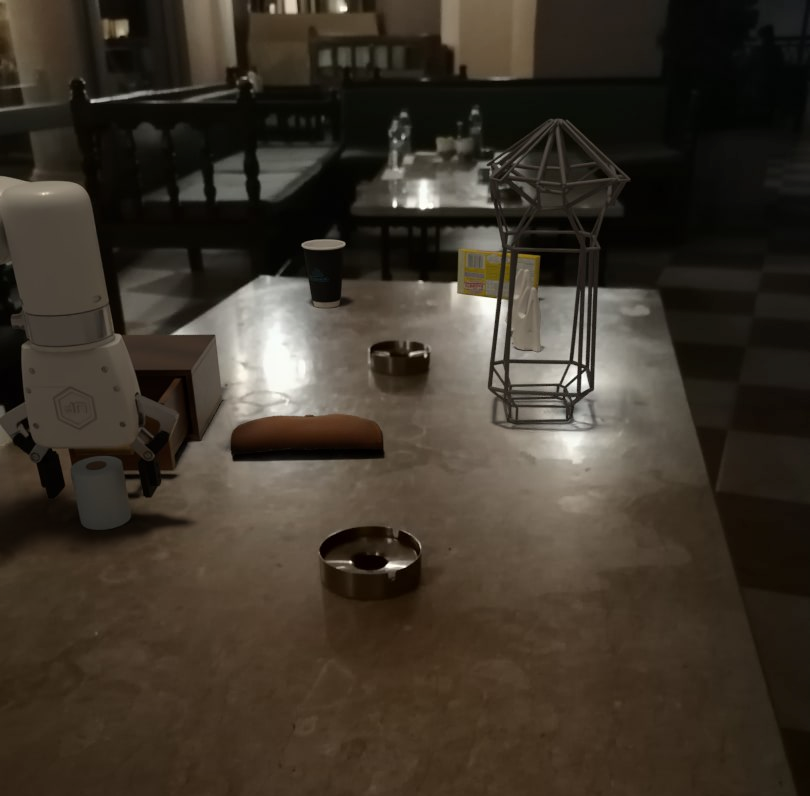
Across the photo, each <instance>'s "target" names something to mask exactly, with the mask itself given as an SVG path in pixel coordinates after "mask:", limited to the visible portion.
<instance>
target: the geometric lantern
mask: <svg viewBox="0 0 810 796" xmlns="http://www.w3.org/2000/svg"><path fill="white" fill-rule="evenodd" d="M563 131H564V132H565V133H566V134H568V135H569V137H570V138H571V139H572V140H573V141H574V142H575V143H577V145H578V146H579V147H580V148H581V149H582V150H583V151H584V152H585V153H586V154H587V156H588V157H590V159H591V160H592V161H591V162H585V163H577V164H571V165H570V162H569V158H568V152H567V148H566V143H565V139H564V134H563ZM547 134H548V137H547V140H546V144H545V147H544V150H543V154H542V158H541V162H540V164H539V166H538V165H530V164H524V163H521V162H522V161H524V159H525V158H526V157H527V156H528V155H529V154H530V152H531V151H533V149H535V147H537V145H538V144H539V143H540V142H541V141H542V140H543V139H544V138H545V137H546V136H547ZM554 142H556V143H555V144H556V149H557V157H558V165H559V166H549V160H550V156H551V152H552V149H553V145H554ZM500 158H501V159H500ZM499 159H500V160H499ZM496 161H497V162H496ZM486 166H487V167H490V171H491V174H490V176H489V178H488V180H489V190H490V191H489V192H490V201H491V202H492V203H493V207H494V213H495V217H496V223H497V227H498V233H499V238H500V242H501V243H500V244H501V248H502V249H501V250H502V251H501V252H502V259H501V268H500V277H499V286H498V296H497V298H496V306H495V315H494V323H493V333H492V343H491V351H490V358H489V359H490V360H489V367H488V379H487V380H488V381H487V390H489V392H490V393H492V394H493V395H494V396H496V397H497V398H498V399H499V400H500V401H501V402H502V406H503V410H504V414H505V420H506V422H507V423H512V424H513V423H514V424H530V423H531V424H532V423H535V424H536V423H537V424H538V423H568V422H569V421H571V420H572V419H573V418H574V412H575V411H574V410H575V405H577V404H578V403H579V402H580V401H581V400H583V399H584V398H585V397H587V396H588V395H590V393H592V392H594V390H595V376H596V374H595V373H596V343H597V319H598V292H599V268H600V267H599V264H600V263H599V262H600V251H601V249H602V248H601V246H600V243H599V241H598V236H599V232H600V229H601V226H602V223H603V221H604V216H605V214H606V211H607V209H608V207H615V206H616V202H617V198H618V197H619V195H620V194H621V192H622V190H623V189H624V187H625V186H626V184H627V183H629V182H631V178H630V177H629V176H628V175H627V174H626V173H625V172H624V171H623V170H622V169H620V168H619V166H617V165H616V164H615V162H613V161H612V160H611V159H610V158H609V157H608V156H607V155H606V154H604V152H602V151H601V150H600V148H598V147H597V146H596V145H595V144H594V143H593V142H592V141H591V140H589V138H588V137H587V136H586V135H585V134H583V133H582V132H581V131H580V130H579V129H578V128H577V127H576V126H575V125H574V124H573V123H572V122H570V121H569V119H563V118H554V119H553V118H549V119H548V120H546V121H545V122H543V123H542V124H540V125H539V126H538V127H536V128H535V129H533V130H532V131H531V132H530V133H528V134H527V135H525V136H524V137H523V138H521V139H520V140H518V141H517V142H516V143H514V144H513V145H511V146H510V147H509V148H507V149H505V150H504V151H502V152H501V153H500V154H498V155H497V156H496V157H494V158H493V159H492V160H490V161H489V162H487V164H486ZM499 166H500V167H499ZM586 168H587V169H589V168H591V169H589V171H587V172H586V173H585V174H584V175H582V176H581V177H580V178H578V179H577V180H576V181H572V182H571V181H570V182H569V177H570V173H571V171H572V170H574V171H575V170H580V169H586ZM517 169H521V170H526V171H527V170H528V171H534V172H537V175H536V177H535V178H534V177H527V176H525V175H524V174H522V173H521V172H519V171H518V170H517ZM598 170H601V171H602V172H603V173H604V174H605V175H606V176H607V177H606V178H597V179H589V180H587V179H588V178H589V177H591V176H592V175H593V174H594V173H596V172H597V171H598ZM505 171H507V172H506V173H505V174H504V175H503V176H502V177H501V178H499V177H500V176H501V175H502V174H503V173H504V172H505ZM547 172H560V180H561V182H556V181H547V180H546V177H547ZM617 172H618V173H619V174H617ZM510 174H511V175H510ZM515 182H517V183H518V182H519V183H526V184H527V185H529V186H531V188H533V189H535V195H534V196H533V198H532V197H531V196H530V195H529V194H528V193H526V191H524V190H523V189H522V188H521V187H520V186H518V185H517V184H516V183H515ZM499 183H505V184H506V185H508V186H509V187H510V188H511V189H512V190H513V191H514V192H515V193H517V194H518V195H519V196H520V197H522V198H523V199H524V200H525V201H526V202H528V203H529V205H528V207H527V208H526V211H525V213H524V215H523V217H522V218H521V219H520V221H519V224H518V225H517V227H516V229H515V230H509V229H508V225H507V222H506V218H505V215H504V212H503V208H502V203H501V194H500V187H499ZM597 185H599V186H597ZM588 186H597V187H595V188H594V189H593V188H592V190H590V191H588V192H586V193H585V194H583V195H581V196H579V197H576V198H575V199H573V200H572V201H569V200H568V197H567V195H568V194H569V193H570V192H571V191H573V190H574V189H575V188H579V187H588ZM545 187H547V188H545ZM549 188H557V189H561V190H556V189H549ZM605 189H607V190H606V191H607V192H606V200H605V202H604V204H603V207H602V209H601V211H600V213H599V215H598V217H597V219H596V222H595V223H594V226H593V229H592V231H591V232H588V231H585V229H584V228H583V226H582V224H581V222H580V220H579V218H578V216H577V214H576V213H575V211H574V209H573V207H574V206H576V205H578V204H580V203H582V202H583V201H585V200H587V199H589V198H591V197H593V196H594V195H596V194H598V193H600V192H602V191H603V190H605ZM541 194H546V195H553V196H562V205H556V206H546V207H543V206H542V203H541V202H542V201H541ZM533 208H535V211H534V212H533V214H532V215H531V216H530V218H529V219H528V220H527V218H528V217H529V215H530V213H531V211H532V210H533ZM562 211H563V212H565V214H566V216H567V219H568V221H569V223H570V225H571V228H572V229H573V230H526V229H527V228H528V227H529V225H530V224H531V222H532V221H533V220H534V219H535V217H536V216H537V214H538V213H539V214H544V213H553V212H562ZM526 220H527V222H526ZM525 222H526V223H525ZM523 225H524V226H523ZM503 227H504V228H503ZM578 227H579V228H578ZM504 230H505V231H504ZM523 234H525V235H527V234H528V235H529V234H530V235H531V234H532V235H534V234H535V235H537V234H538V235H539V234H541V235H542V234H543V235H544V234H545V235H546V234H547V235H548V234H549V235H575V237H576V238H577V241H578V243H579V245H580V248H550V247H549V248H548V247H547V248H546V247H543V248H542V247H520V241H521V236H522V235H523ZM509 236H515V238H514V240H513V241H512V242H511V243H510V244H508V240H509ZM586 238H589V247H587V246H586ZM508 251H510V253H511V257H510V276H509V296H508V299H507V301H508V302H507V312H508V316H507V315H506V316H507V323H506V328H505V337H504V338H505V339H504V348H503V359H498V360H496V353H497V345H498V335H499V328H500V327H499V326H500V317H501V316H500V315H501V310H502V309H501V307H502V300H503V298H502V292H503V283H504V274H505V265H506V255H507V253H508ZM519 252H539V253H543V252H544V253H548V252H549V253H576V254H577V253H579V257H578V268H577V276H576V277H577V278H576V287H575V298H574V299H575V300H574V309H573V320H572V331H571V340H570V351H569V352H570V353H569V357H568V359H513V358H512V359H511V341H512V340H511V338H512V330H511V324H512V308H513V299H514V289H515V280H516V270H517V261H518V254H519ZM587 254H588V256H589V257H588V281H587V282H588V283H587V311H586V312H587V313H586V338H585V339H586V342H585V364H584V363H583V353H584V351H583V350H584V329H585V327H584V325H585V303H586V302H585V301H586V299H585V298H586V279H587V278H586V277H587V275H586V273H587ZM578 318H579V319H578ZM577 329H578V344H577V361H576V360H574V357H575V350H576V349H575V348H576V338H577ZM510 364H523V365H525V364H526V365H527V364H528V365H529V364H530V365H566V367H565V369H564V372H563V374H562V376H561V379H560V381H559V383H512V381H511V379H510ZM499 365H502V367H503V370H504V378H502V376H501V375H500V373H499V372H498V371H497V369H496V367H495V366H499ZM571 365H573V366H575V367H576V368H577V370H576V372H577V373H576V375H574V377H573V378H572V379H571V380H570V381H569V382H568V383H566V384H565V385H564V384H563V382H564V381H565V378H566V376H567V374H568V371H569V369H570V367H571ZM584 373H585V374H586V378H587V383H588V388H587V389H585V390H583V391H582V377H583V374H584ZM494 374H495V375H496V377H497V379H498V380H499V381H500V382H501V384H502V385H503V388H501V387H496V386H493V379H494ZM575 381H576V392H570V391H569V390H568V387H570V386H571V385H572V384H573V383H574V382H575ZM537 387H541V388H542V387H556V389H555V391H544V390H523V389H513V388H537ZM560 388H562V389H563V390H562V391H560ZM499 393H500V394H499ZM501 394H503V396H501ZM512 395H519V396H517V397H516V396H515V397H514V396H513V397H512ZM521 395H522V396H521ZM573 398H574V399H573ZM567 399H568V400H569V404H568V401H567ZM532 400H534V401H535V400H537V401H538V400H558V401H561V402H562V401H563V403H564V404H527V403H526V404H525V403H523V404H522V403H521V404H519V403H516V402H515V401H532ZM507 406H508V408H507ZM513 408H514V409H515V411H514V412H515V413H514V419H513V418H512V409H513ZM519 408H538V409H539V408H541V409H565V418H551V419H550V418H549V419H548V418H547V419H544V418H543V419H519Z"/></svg>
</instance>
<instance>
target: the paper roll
mask: <svg viewBox="0 0 810 796" xmlns="http://www.w3.org/2000/svg"><path fill="white" fill-rule="evenodd" d="M69 472H70V476H71V481H72V486H73V491H74V496H75V499H76V500H75V501H76V505H77V506H76V507H77V510H78V514H79V520H80V523H81V526H83V527H84V528H86V529H88V530H92V531H105V530H111V529H116V528H118V527H121V526H123V525H125V524H127V523H128V522H129V521H130V520H131V518H132V511H131V510H132V509H131V505H130V499H129V494H128V487H127V482H126V476H125V471H123V465H122V461H121V460H120V459H118V458H116V457H111V456H96V457H90V458H86V459H83V460H80V461H78V462H76V463H75V464H73V465H72V464H71V466H70V469H69Z"/></svg>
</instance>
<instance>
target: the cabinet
mask: <svg viewBox="0 0 810 796" xmlns="http://www.w3.org/2000/svg"><path fill="white" fill-rule="evenodd" d="M120 335H121V336H122V339H123V341H124V343H125V346H126V348H127V351H128V353H129V356H130V359H131V362H132V365H133V368H134V371H135V374H136V376H185V378H186V386H187V393H188V401H189V408H190V416H191V423H192V426H191V428H190V430H189V431H188V433H187V435H186V436H185V438H184V440H183V442H184V441H185V442H189V441H190V442H192V441H193V442H194V441H195V442H196V441H199V442H200V441H201V440H202V438H203V436H204V434H205V432H206V430H207V429H208V427H209V425H210V424H211V421H212V420H213V418H214V416H215V414H216V412H217V411H216V410H218V409H217V408H219V407H220V405H221V403H222V402H223V400H222V399H223V390H222V382H221V381H222V380H221V372H220V365H219V356H218V355H219V354H218V346H217V338H216V334H120ZM219 404H220V405H219ZM218 406H219V407H218ZM213 415H214V416H213ZM212 417H213V418H212ZM211 419H212V420H211Z"/></svg>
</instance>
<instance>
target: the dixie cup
mask: <svg viewBox="0 0 810 796" xmlns="http://www.w3.org/2000/svg"><path fill="white" fill-rule="evenodd" d="M345 246H346V242H345V241H343V240H338V239H313V240H307V241H304V242H302V243H301V247H302V249H303V255H304V261H305V266H306V274H307V280H308V284H309V285H308V286H309V291H310V298H311V301H312V302H313V306H314V307H315V308H319V309H330V308H336V307H338V306H340V301H341V300H342V288H343V271H344V270H343V269H344V255H345Z"/></svg>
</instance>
